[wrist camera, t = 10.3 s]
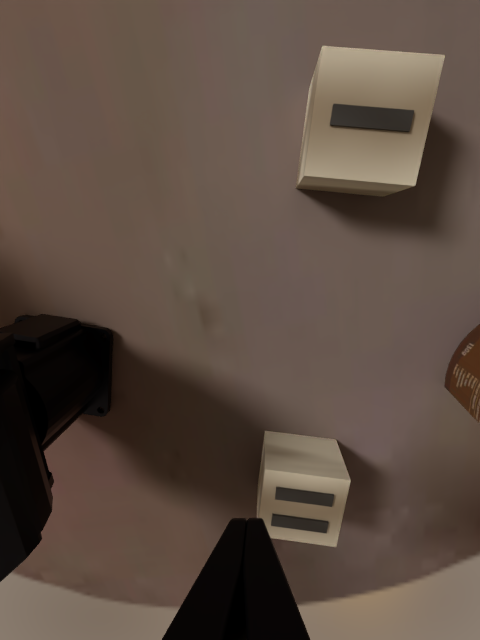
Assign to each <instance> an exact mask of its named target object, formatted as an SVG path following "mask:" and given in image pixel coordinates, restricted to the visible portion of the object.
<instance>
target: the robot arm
mask: <svg viewBox="0 0 480 640" xmlns="http://www.w3.org/2000/svg"><path fill="white" fill-rule="evenodd" d="M102 333H104V334H105V335H106V338H103V336H102ZM112 346H113V334H112V332H111V330H110V329H108V328H105V327H98V326H92V325H86V324H81V322H80V321H78V320H77V319H71V318H65V317H58V316H52V315H46V314H41V315H38V316H29V315H22V316H19V317H17V318H16V319H15V323H14V324H11V325H9V326H6V327H3V328H0V582H1V581H2V580H3V579H4V578H5V577H6V576H8V575H9V574H10V573H11V572H12V571H13V570H14V569H15V568H17V567H18V566H19V565H20V564H21V563H22V562H23V561H24V560H25V559H26V558H27V557H28V556H29V555H30V553H31V552H32V551H33V550H34V549H35V548H36V546H37V545H38V544H39V543H40V541H41V539H42V535H41V531H42V530H43V528H44V526H45V524H46V522H47V520H48V518H49V516H50V514H51V512H52V501H53V496H52V492H51V488H52V485H53V483H54V479H53V476H52V473H51V472H49V470H48V466H47V463H46V459H45V455H44V452H43V451H44V450H45V449H46V448H47V447H49V446H50V445H51V444H52V443H53V442H54V441H55V440H56V439H57V438H58V437H59V436H60V435H61V434H62V433H63V432H64V431H65V430H66V429H67V428H68V427H69V426H70V425H71V424H72V423H73V422H74V421H75V420H76V419H77V418H78V417H79V416H80V415H82V414H89V415H94V416H100V417H102V416H105V415H106V414H107V413H108V412H109V411H110V403H111V375H112ZM100 407H102V408H103V409H104V411H103V410H101V409H100ZM162 640H310V638H309V635H308V633H307V630H306V628H305V625H304V622H303V620H302V618H301V615H300V612H299V610H298V607H297V604H296V602H295V599H294V597H293V594H292V592H291V589H290V586H289V584H288V581H287V579H286V576H285V574H284V571H283V569H282V566H281V563H280V561H279V558H278V556H277V553H276V551H275V548H274V545H273V543H272V540H271V538H270V535H269V533H268V530H267V528H266V525H265V522H264V520H263V519H262V518H249V519H248V520H246V519H245V518H233V519H231V520H230V522H229V524H228V525H227V527H226V529H225V531H224V532H223V534H222V536H221V538H220V539H219V541H218V543H217V545H216V546H215V548H214V550H213V551H212V553H211V555H210V557H209V558H208V560H207V562H206V564H205V565H204V567H203V569H202V571H201V572H200V574H199V576H198V578H197V579H196V581H195V583H194V584H193V586H192V588H191V590H190V591H189V593H188V595H187V597H186V598H185V600H184V602H183V604H182V605H181V607H180V609H179V610H178V612H177V614H176V616H175V618H174V619H173V621H172V623H171V624H170V626H169V628H168V630H167V631H166V633H165V635H164V637H163V638H162Z"/></svg>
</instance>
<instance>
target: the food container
mask: <svg viewBox="0 0 480 640" xmlns="http://www.w3.org/2000/svg"><path fill="white" fill-rule="evenodd" d="M445 388H446V389H447V390H448V391H449V392H450V393H451V394H452V395H453V396H454V397H455V398H456V400H457V401H458V402H459V403H460V404H461V405H462V406H463V407H464V408H465V409H466V410H467V411H468V412H469V413H470V414H471V415H472V416H473V417H474V418H475V420H476V421H477V422H478V423H479V424H480V324H479V325H478V326H477V327H476V328H474V329H473V330H472V331H471V332H470V333H469V334H468V335H467V336H466V337H465V338H464V340H463V341H462V342H461V343H460V345H459V346H458V348H457V349H456V351H455V352H454V354H453V356H452V358H451V360H450V363H449V365H448V369H447V372H446V377H445Z"/></svg>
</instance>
